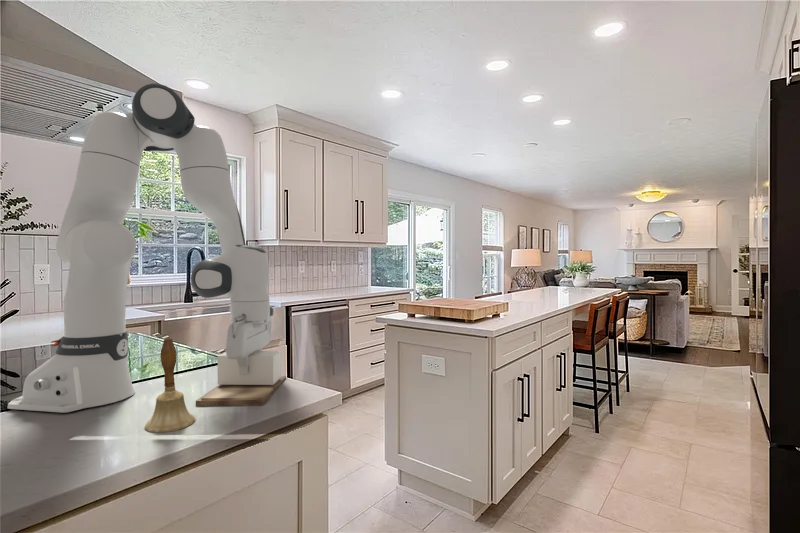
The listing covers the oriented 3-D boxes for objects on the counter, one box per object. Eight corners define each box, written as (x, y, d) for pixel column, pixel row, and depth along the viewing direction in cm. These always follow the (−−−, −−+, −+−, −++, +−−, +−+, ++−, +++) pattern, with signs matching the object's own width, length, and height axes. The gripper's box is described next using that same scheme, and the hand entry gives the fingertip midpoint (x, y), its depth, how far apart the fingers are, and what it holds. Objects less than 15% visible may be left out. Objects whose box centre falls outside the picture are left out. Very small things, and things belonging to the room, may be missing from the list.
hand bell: (174, 434, 75) (173, 343, 75) (133, 430, 77) (132, 341, 77) (204, 417, 83) (203, 335, 83) (167, 414, 85) (166, 333, 85)
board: (195, 405, 90) (195, 399, 90) (230, 380, 109) (230, 375, 109) (262, 405, 90) (262, 398, 90) (286, 380, 109) (286, 374, 109)
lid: (217, 384, 101) (217, 352, 101) (228, 377, 107) (228, 347, 107) (273, 384, 100) (273, 353, 100) (280, 378, 106) (280, 348, 106)
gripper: (247, 317, 93) (247, 381, 93) (275, 308, 114) (275, 360, 114) (218, 317, 93) (218, 381, 93) (252, 308, 114) (252, 360, 114)
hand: (250, 370), depth 104 cm, fingers closed on lid, 6 cm apart
